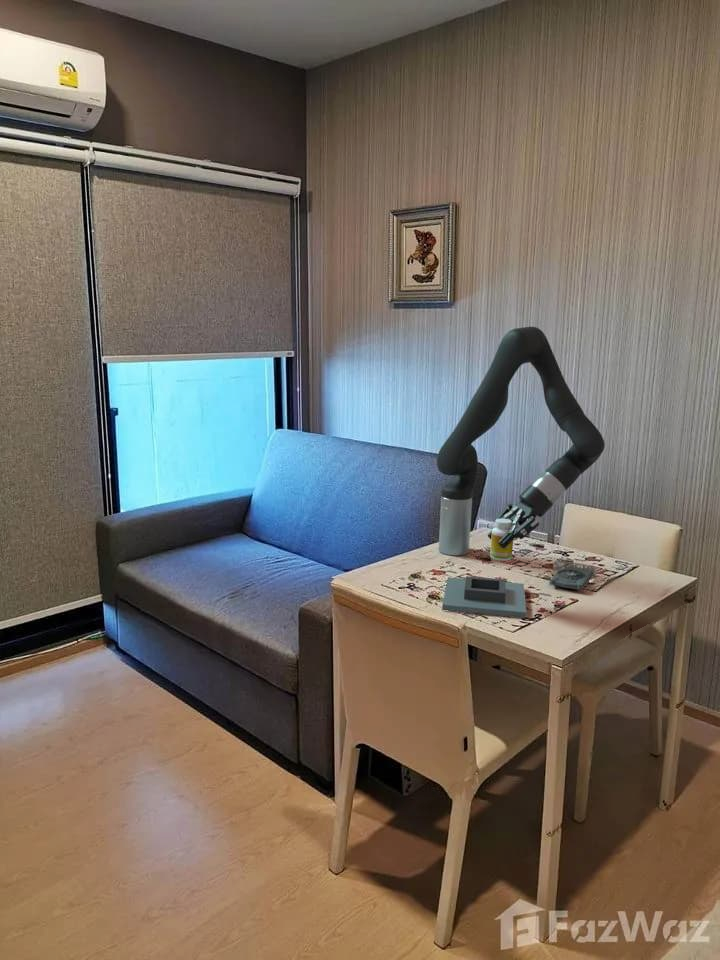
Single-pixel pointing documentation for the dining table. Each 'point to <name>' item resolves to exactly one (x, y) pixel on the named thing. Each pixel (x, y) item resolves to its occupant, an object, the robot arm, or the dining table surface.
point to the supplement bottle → (497, 534)
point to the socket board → (485, 596)
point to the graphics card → (572, 575)
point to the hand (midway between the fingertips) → (495, 542)
